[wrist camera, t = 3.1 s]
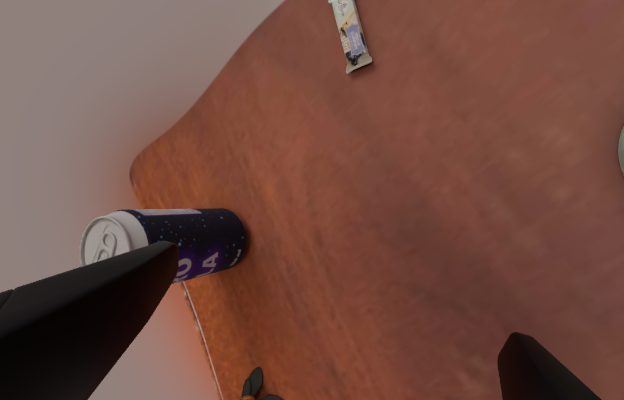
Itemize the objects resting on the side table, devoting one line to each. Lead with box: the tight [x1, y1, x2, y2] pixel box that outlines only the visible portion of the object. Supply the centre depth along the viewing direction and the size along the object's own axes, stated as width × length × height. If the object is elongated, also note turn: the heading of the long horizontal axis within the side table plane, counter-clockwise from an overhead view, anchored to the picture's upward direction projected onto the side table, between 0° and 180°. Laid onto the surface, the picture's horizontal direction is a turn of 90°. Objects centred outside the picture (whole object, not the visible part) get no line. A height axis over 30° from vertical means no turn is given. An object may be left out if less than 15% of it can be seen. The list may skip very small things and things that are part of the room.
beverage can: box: [80, 208, 246, 284], centre depth 26 cm, size 6×6×12 cm
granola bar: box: [328, 0, 372, 74], centre depth 27 cm, size 7×1×3 cm
